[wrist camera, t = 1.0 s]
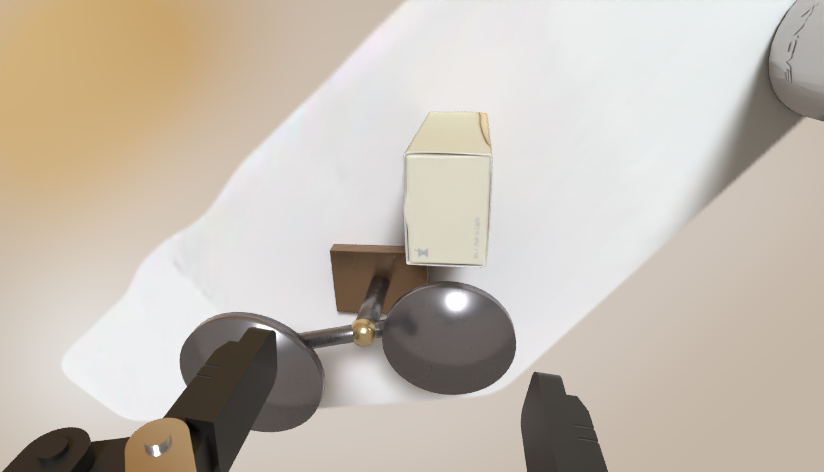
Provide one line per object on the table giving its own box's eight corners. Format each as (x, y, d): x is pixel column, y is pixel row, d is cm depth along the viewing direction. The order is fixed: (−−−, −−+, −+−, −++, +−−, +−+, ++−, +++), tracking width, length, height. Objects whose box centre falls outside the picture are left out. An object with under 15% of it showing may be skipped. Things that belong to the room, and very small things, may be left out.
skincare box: (482, 192, 34) (489, 272, 23) (424, 191, 34) (404, 269, 23) (487, 108, 31) (497, 153, 20) (424, 107, 32) (401, 152, 21)
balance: (510, 232, 35) (530, 336, 23) (502, 325, 39) (516, 453, 27) (257, 225, 37) (162, 316, 26) (274, 313, 41) (198, 426, 30)
